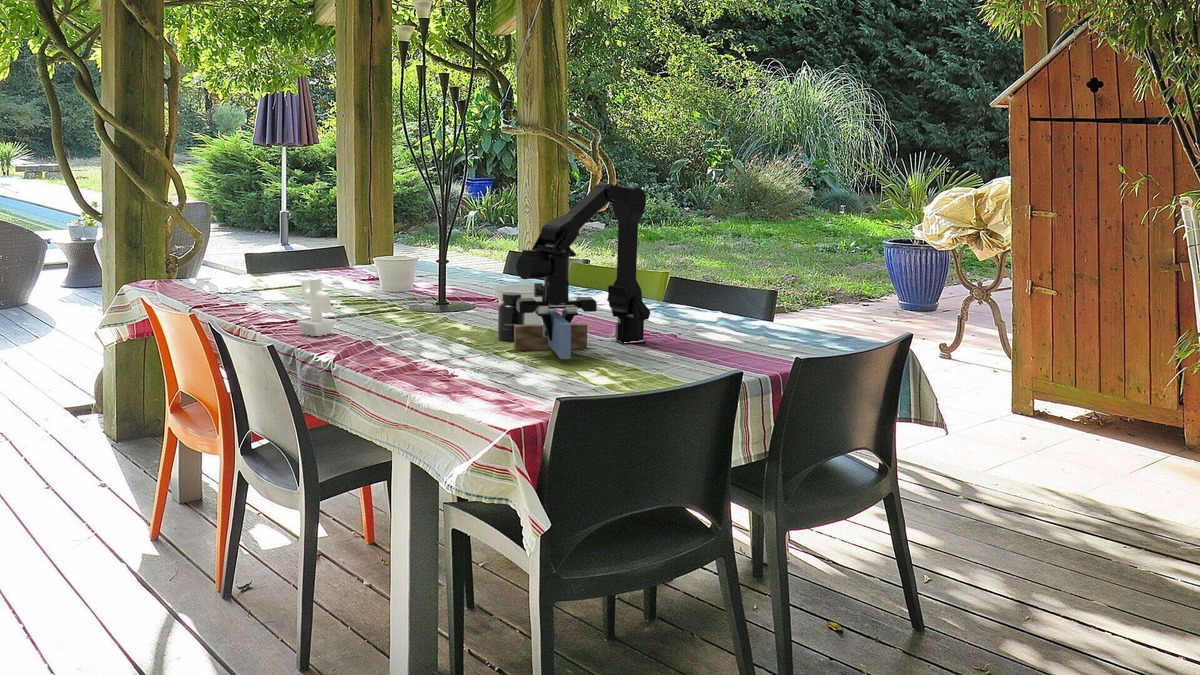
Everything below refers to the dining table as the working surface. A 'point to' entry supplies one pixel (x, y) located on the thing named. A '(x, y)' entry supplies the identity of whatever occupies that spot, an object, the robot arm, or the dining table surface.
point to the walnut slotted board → (546, 337)
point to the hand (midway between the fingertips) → (556, 340)
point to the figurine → (316, 308)
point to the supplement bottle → (509, 317)
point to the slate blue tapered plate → (559, 335)
